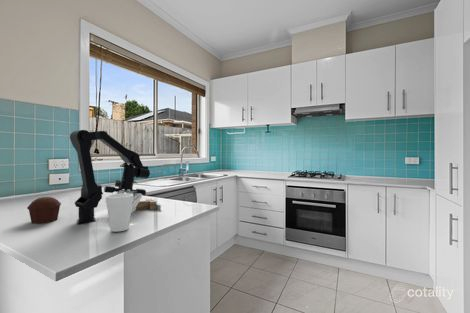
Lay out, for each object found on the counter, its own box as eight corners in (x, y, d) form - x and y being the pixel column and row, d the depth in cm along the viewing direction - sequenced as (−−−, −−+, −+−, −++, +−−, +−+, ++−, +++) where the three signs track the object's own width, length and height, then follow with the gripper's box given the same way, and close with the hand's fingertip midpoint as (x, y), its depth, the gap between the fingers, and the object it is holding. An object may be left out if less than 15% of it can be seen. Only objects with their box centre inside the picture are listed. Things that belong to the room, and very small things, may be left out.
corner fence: (160, 210, 115) (160, 205, 115) (138, 213, 109) (138, 207, 109) (152, 205, 128) (152, 200, 128) (132, 207, 122) (132, 202, 122)
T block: (156, 210, 117) (156, 201, 117) (138, 212, 112) (138, 203, 112) (151, 206, 124) (151, 198, 124) (134, 209, 119) (134, 200, 119)
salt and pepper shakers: (120, 204, 117) (133, 186, 121) (127, 208, 119) (140, 190, 123) (125, 209, 107) (140, 189, 111) (133, 213, 109) (147, 194, 113)
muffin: (65, 219, 99) (65, 197, 99) (33, 226, 89) (33, 201, 89) (54, 215, 105) (54, 194, 105) (22, 221, 95) (22, 198, 96)
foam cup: (100, 230, 84) (100, 196, 84) (122, 223, 93) (122, 192, 93) (116, 234, 80) (116, 198, 80) (138, 227, 88) (138, 194, 88)
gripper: (143, 178, 125) (137, 206, 124) (105, 173, 114) (99, 204, 113) (148, 179, 116) (143, 209, 115) (108, 174, 106) (101, 208, 104)
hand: (122, 207), depth 112 cm, fingers closed, pressing on salt and pepper shakers
